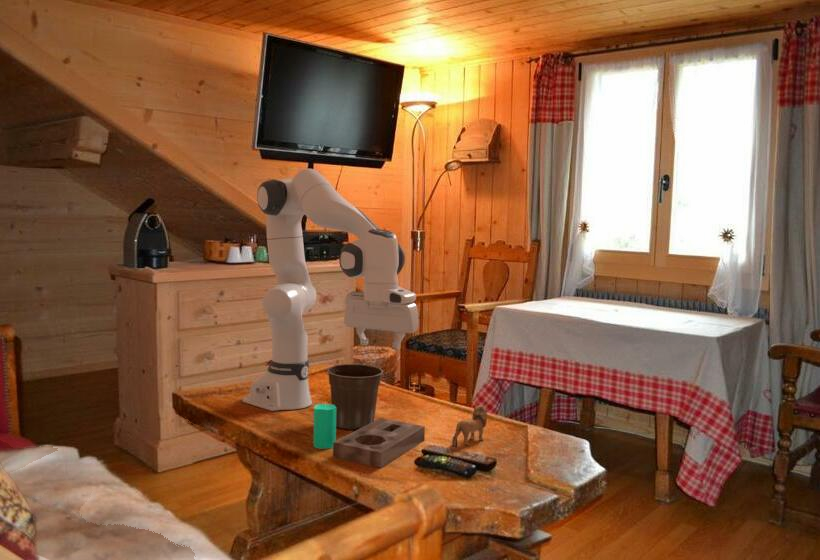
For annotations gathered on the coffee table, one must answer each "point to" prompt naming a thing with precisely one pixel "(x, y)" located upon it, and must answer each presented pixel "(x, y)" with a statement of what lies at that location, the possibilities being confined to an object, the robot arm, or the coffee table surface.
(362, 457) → the socket block
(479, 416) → the lion figurine
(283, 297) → the robot arm
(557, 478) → the coffee table surface
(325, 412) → the candle
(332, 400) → the plant pot
